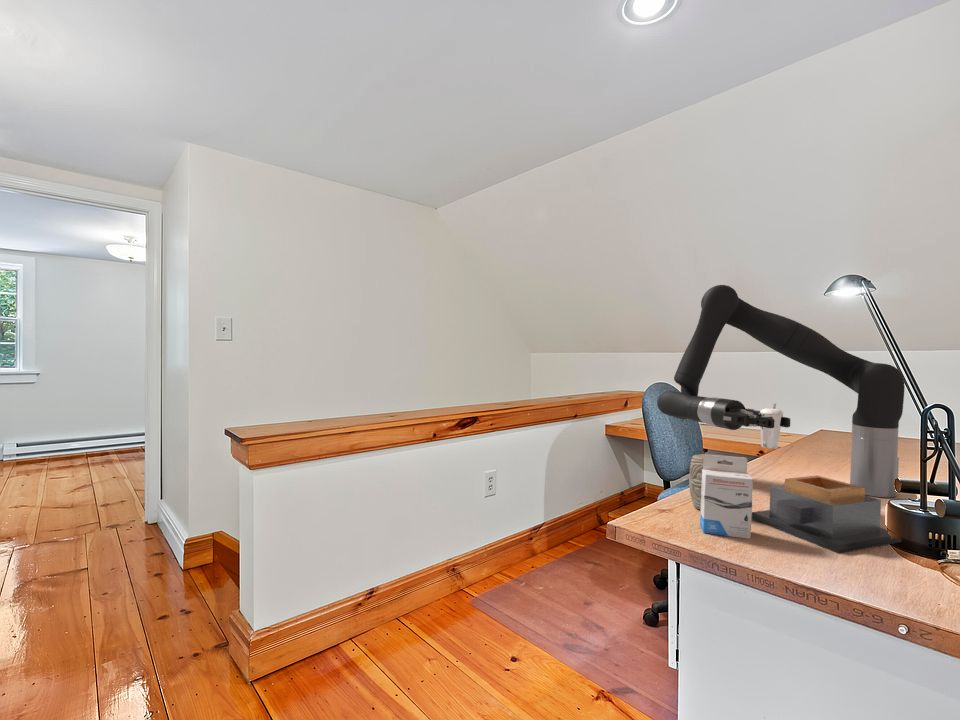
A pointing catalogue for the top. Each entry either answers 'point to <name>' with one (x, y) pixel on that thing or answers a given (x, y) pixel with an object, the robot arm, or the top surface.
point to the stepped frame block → (826, 514)
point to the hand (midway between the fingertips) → (781, 423)
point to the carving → (696, 479)
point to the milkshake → (771, 434)
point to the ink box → (726, 497)
